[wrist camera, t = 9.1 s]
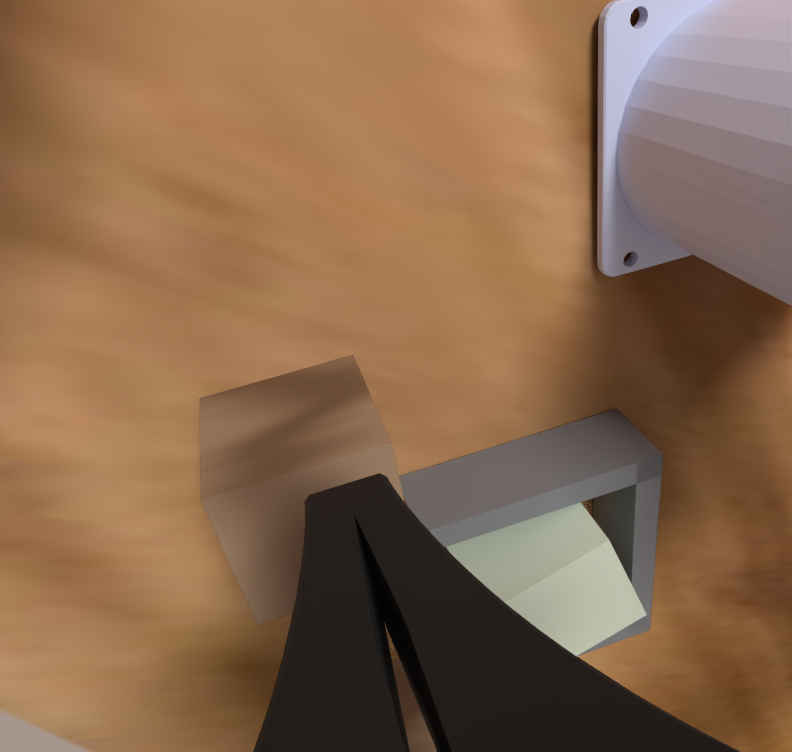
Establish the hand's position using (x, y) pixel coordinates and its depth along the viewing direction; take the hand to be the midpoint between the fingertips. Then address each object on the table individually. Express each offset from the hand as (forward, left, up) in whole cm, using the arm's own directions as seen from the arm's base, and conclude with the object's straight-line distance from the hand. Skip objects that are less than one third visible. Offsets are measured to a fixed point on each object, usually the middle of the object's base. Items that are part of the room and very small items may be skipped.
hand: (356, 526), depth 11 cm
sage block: (-6, +12, -10) cm, 17 cm away
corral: (-7, +13, -10) cm, 18 cm away
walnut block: (+1, +5, -10) cm, 11 cm away
